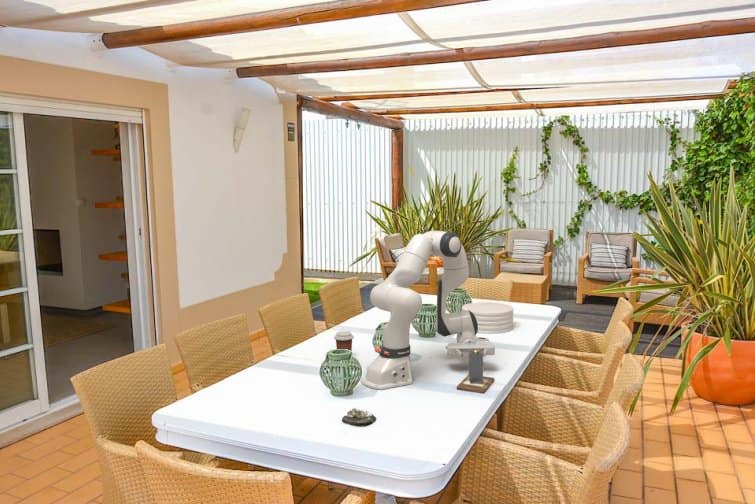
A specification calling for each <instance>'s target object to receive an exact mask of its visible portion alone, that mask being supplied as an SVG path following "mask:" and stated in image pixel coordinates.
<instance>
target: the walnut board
mask: <svg viewBox="0 0 755 504" xmlns="http://www.w3.org/2000/svg"><path fill="white" fill-rule="evenodd" d="M494 382H495V377H491V376H485V375H483V384H470V381H469V373H468V374H467V375H466V376H465V377H463V380H461V382H459V383H458V385H456V390H457V391H463V392H471V393H477V394H485V393H486V392H487V391H488V390H489V388H490V386H492V384H493V383H494Z"/></svg>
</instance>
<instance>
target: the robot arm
mask: <svg viewBox="0 0 755 504" xmlns="http://www.w3.org/2000/svg"><path fill="white" fill-rule="evenodd" d="M431 256H434V257H439V258H440V257H441V259H442V268H443V275H442V277H441V278H440V279H439V280H438V283H437V293H436V317H435V321H434V322H435V326H434V327H435V330H436V332H437V333H438V334H439V335H440V336H441V337H448V336H449V337H450V336H451V335H456V342H451V343H447V345H445V349H446V351H447V352H446V353H447V355H448V356H459V357H461V358H462V357H464V356H466V357H469V351H473V350H474V349H477V350H479V351H482V353H483V357H486V356H494V355H495V354H496V353H495V352H496V348H495V345H494V344H493V342H491V341H490V340H489V338H488V337H487V338H486V337H480V336H476V335H477V334H478V333H477V332H478V324H477V320H476V317H475V315H474V314H473V313H472V312H471V311H469V310H467V311H462V310H461V311H454V312H447V311H446V308H447V298H448V295H449V294H450V293H451V292H453V291H454V290H456V289H458V288H460V287H461V286H463V285H464V284H465V283H466V282H467V280H468V279H469V277H470V275H469V274H470V269H469V263H468V256H467V252H466V250H465V248H464V246H463V244H462V240H461V237H460V236H459V235H458V234H457V233H455V232H452V231H445V230H443V231H442V230H426V231H423V232H421V233H417V234H414V236H412V238H411V239H410V240H409V241H408V243H407V244H406V247H405V249H404V250H403V252H402V254H401V256H400V258H399V260H398V262H397V264H396V266H395V267H394V269H393V270H392V272H391V273H390V274H389V275H388V277H386V278H385V280H383V281H382V282H380V283H379V284H376V285H375V286H374V287H373V288H372V289H371V291H370V295H369V296H370V297H369V299H370V302H371V304H372V305H373V306H374V307H376V308H378V309H379V310H381V311H385V312H389V313H390V316H389V320H388V322H386V323H385V324H384V325H383V327H382V345H381V346H380V347H381V348H380V347H377V346H376V347H375V348H374V352H375V353H378V354H379V355H378V356H377V357H376V358H375V359H373V361H372V362H371V363H370V364H369V365H368V367H367V369H366V376H365V377H363V378H361V379H360V383H361V384H362V385H364V386H366V387H369V388H370V389H373V390H378V391H379V390H380V391H381V390H386V389H393V388H397V387H401V386H407V385H411V384H413V380H414V375H413V371H412V364H411V356H410V355H411V353H412V352H411V344H410V330H411V329H410V328H411V323H412V320H413V318H414V317H415V316H416V315H417V314H418V313H419V312H420V311H421V308H422V306H423V300H422V296H421V294H420V293H419V292H417V291H415V290H413V289H411V288H410V286H412V285H414V284H416V283H417V282H419V280H420V279H421V277H422V275H423V274H424V271H425V269H426V266H427V264H428V262H429V261H430V257H431Z"/></svg>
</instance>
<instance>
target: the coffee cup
mask: <svg viewBox="0 0 755 504" xmlns="http://www.w3.org/2000/svg"><path fill="white" fill-rule="evenodd" d="M333 336H334V340H335V347H336V350H337V349H348V350H351V351H352V349H353V339H354V337H355V336H354V335H353V334H352V331H350V330H341V331H337V332H336V334H335V335H333Z"/></svg>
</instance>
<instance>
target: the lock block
mask: <svg viewBox="0 0 755 504" xmlns="http://www.w3.org/2000/svg"><path fill="white" fill-rule="evenodd" d="M468 374H469V381H470V384H483V376H484V356H483V353H482V351H479V350H477V349H474V350H473V351H469V356H468Z"/></svg>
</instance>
